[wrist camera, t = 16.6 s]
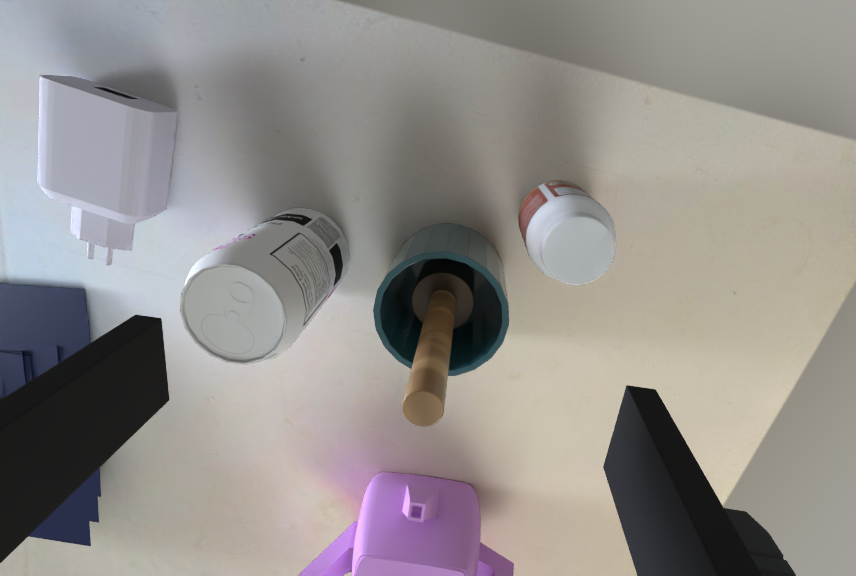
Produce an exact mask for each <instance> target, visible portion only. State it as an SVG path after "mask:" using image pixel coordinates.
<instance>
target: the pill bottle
mask: <svg viewBox="0 0 856 576" xmlns="http://www.w3.org/2000/svg"><path fill="white" fill-rule="evenodd" d="M519 228H520V231H521V234H522V237H523V240H524V243H525V246H526V249H527V251H528V255H529V256H530V258H531V260H532V261H533V263H534V264H535V266H536V267H537V268H538V269H539V270H540V271H542V272H543V273H545V274H546V275H548V276H550V277H552V278H555V279H557V280H558V281H560V282H563V283H566V284H571V285H582V284H586V283H590V282H592V281H594V280H596V279H598V278H599V277H601V276H602V275H603V274H604V273H605V272H606V271H607V270H608V268H609V267H610V265H611V263H612V261H613V258H614V254H615V238H616V234H615V226H614V223H613V220H612V218H611V216H610V215H609V213H608V212H607V210H606V209H605V208H604V207H603V206H602V205H601V204H600V203H598V202H597V201H596V200H594V199H593V198H592V197H591V196H590V195H588V194H587V193H586V192H585V191H584V190H582V189H581V188H580V187H578V186H577V185H575V184H573V183H570V182H567V181H561V180H555V181H549V182H545V183H543V184H541V185H539V186H537V187H536V188H534V189H533V190H532V191H531V192H530V193H529V194H528V195H527V196H526V198H525V199H524V201H523V203H522V205H521V207H520V211H519Z"/></svg>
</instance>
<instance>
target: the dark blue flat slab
mask: <svg viewBox="0 0 856 576" xmlns="http://www.w3.org/2000/svg"><path fill="white" fill-rule="evenodd" d="M89 344H90V333H89V321H88V319H87V311H86V302H85V294H84V289H73V288H58V287H43V286H29V285H14V284H0V397H2V396H3V397H6V396H8V395H9V394H11V393H12V392H14V391H15V390H17V389H19V388H20V387H22V386H23V385H25V384H27V383H28V382H30V381H31V380H33V379H35V378H36V377H38V376H39V375H41V374H42V373H44V372H46V371H47V370H49V369H50V368H52V367H54V366H55V365H57V364H58V363H60V362H62V361H63V360H65V359H66V358H68V357H69V356H71V355H73V354H74V353H76V352H77V351H79V350H81V349H82V348H84V347H85V346H87V345H89ZM97 496H99V497H101V488H100V467H99V468H98V469H97V470H96V471H95V472H94V473H93V474H92V475H91V476H90V477H89V478H88V479H87V480H86V481H85V482H84V483H83V484H82V485H81V486H80V487H79V488H78V489H77V490H76V491H75V492H74V493H72V494H71V495H70V496H69V497H68V498H67V499H66V500H65V501H64V502H63V503H62V504H61V505H60V506H59V507H58V508H57V509H56V510H55V511H54V512H53V513H52V514H51V515H50V516H49V517H48V518H47V519H46V520H45V521H43V522H42V523H41V524H40V525H39V526H38V527H37V528H36V529H35V530H34V531H33V532H32V533H31V534H30V535H29V536H30V537H36V538H42V539H49V540H55V541H61V542H68V543H74V544H80V545H87V546H91V542H90V526H89V521H93V522H99V516H98V497H97Z"/></svg>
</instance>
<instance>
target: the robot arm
mask: <svg viewBox="0 0 856 576" xmlns="http://www.w3.org/2000/svg"><path fill="white" fill-rule="evenodd" d="M168 401H169V392H168V382H167V372H166V361H165V351H164V341H163V331H162V321H161V318H155V317H148V316H141V315H135V316H133V317H131V318H130V319H128V320H127V321H125V322H123V323H122V324H120V325H119V326H117V327H115V328H114V329H112V330H111V331H109V332H108V333H106V334H104V335H103V336H101V337H100V338H98V339H96V340H95V341H93V342H92V343H90V344H89V345H87V346H85V347H84V348H82V349H81V350H79V351H77V352H76V353H74V354H73V355H71V356H69V357H68V358H66V359H65V360H63V361H62V362H60V363H58V364H57V365H55V366H54V367H52V368H50V369H49V370H47V371H46V372H44V373H42V374H41V375H39V376H38V377H36V378H35V379H33V380H31V381H30V382H28V383H27V384H25V385H23V386H22V387H20V388H19V389H17V390H15V391H14V392H12V393H11V394H9V395H8V396H6V397H3V396H2V397H0V563H1V562H2V561H3V560H4V559H5V558H6V557H7V556H8V555H9V554H10V553H11V552H12V551H13V550H14V549H16V548H17V547H18V546H19V545H20V544H21V543H22V542H23V541H24V540H25V539H26V538H27V537H28V536H29V535H30V534H31V533H32V532H33V531H34V530H35V529H36V528H37V527H38V526H39V525H40V524H41V523H42V522H43V521H45V520H46V519H47V518H48V517H49V516H50V515H51V514H52V513H53V512H54V511H55V510H56V509H57V508H58V507H59V506H60V505H61V504H62V503H63V502H64V501H65V500H66V499H67V498H68V497H69V496H70V495H71V494H72V493H74V492H75V491H76V490H77V489H78V488H79V487H80V486H81V485H82V484H83V483H84V482H85V481H86V480H87V479H88V478H89V477H90V476H91V475H92V474H93V473H94V472H95V471H96V470H97V469H98V468H99V467H100V466H101V465H102V464H104V463H105V462H106V461H107V460H108V459H109V458H110V457H111V456H112V455H113V454H114V453H115V452H116V451H117V450H118V449H119V448H120V447H121V446H122V445H123V444H124V443H125V442H126V441H127V440H128V439H129V438H130V437H131V436H133V435H134V434H135V433H136V432H137V431H138V430H139V429H140V428H141V427H142V426H143V425H144V424H145V423H146V422H147V421H148V420H149V419H150V418H151V417H152V416H153V415H154V414H155V413H156V412H157V411H158V410H159V409H160V408H162V407H163V406H164V405H165V404H166V403H167V402H168ZM603 467H604V471H605V474H606V477H607V480H608V483H609V486H610V490H611V493H612V496H613V499H614V502H615V506H616V509H617V512H618V515H619V518H620V521H621V525H622V528H623V531H624V534H625V537H626V540H627V544H628V547H629V550H630V553H631V556H632V560H633V563H634V566H635V569H636V572H637V575H638V576H796V575H795V573H794V571H793V570H792V568H791V567H790V565H789V564H788V562H787V561H786V560H784V559H783V554H782V553H781V551H780V550H779V548H778V547H777V545H776V544H775V542H774V540H773V539H772V537H771V536H770V534H769V533H768V532H767V531H766V530H765V529H764V528H763V527H762V526H761V525H760V524H759V523H758V522H757V521H755V520H754V519H753V518H752V517H751V516H750V515H749V514H748V513H747V512H745V511H739V510H733V509H725V508H723V506H722V504H721V503H720V501H719V499H718V498H717V496H716V494H715V492H714V491H713V489H712V487H711V485H710V484H709V482H708V480H707V478H706V477H705V475H704V473H703V471H702V470H701V468H700V466H699V464H698V463H697V461H696V459H695V457H694V456H693V454H692V452H691V450H690V449H689V447H688V445H687V444H686V442H685V440H684V438H683V437H682V435H681V433H680V431H679V430H678V428H677V426H676V424H675V423H674V421H673V419H672V417H671V416H670V414H669V412H668V410H667V409H666V407H665V405H664V403H663V402H662V400H661V398H660V396H659V395H658V393H657V391H656V390H655V389H648V388H641V387H634V386H626V390H625V393H624V396H623V400H622V403H621V407H620V410H619V414H618V417H617V421H616V424H615V428H614V431H613V435H612V438H611V442H610V445H609V449H608V452H607V456H606V459H605V463H604V466H603Z"/></svg>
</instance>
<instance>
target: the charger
mask: <svg viewBox="0 0 856 576" xmlns="http://www.w3.org/2000/svg"><path fill="white" fill-rule="evenodd" d="M177 117H178V111H177V110H175V109H173V108H170V107H168V106H165V105H162V104H159V103H156V102H153V101H150V100H147V99H144V98H141V97H138V96H135V95H132V94H129V93H126V92H123V91H120V90H117V89H114V88H111V87H108V86H105V85H102V84H99V83H96V82H92V81H89V80H85V79H82V78H77V77H72V76H54V75H40V92H39V139H38V185H39V186H40V187H41V189H42V190H43V191H44V192H45V193H46V194H47V195H48V197H49V198H51V199H53V200H55V201H58V202H61V203H64V204H68V205H71V206H72V215H71V233H72V234H74V235H75V236H76V237H78V238H79V239H81V240H84V241H87V242H88V251H87V258H88V259H93V258H94V244H96V245H99V246H102V247H105V248H106V260H105V264H106V265H111V264H112V253H113V249H119V250H132V245H133V235H134V224H135V223H137V222H140V221H143V220H145V219H148V218H151V217H154V216H156V215H157V214H159V213H161V212H163V211H164V210H166V209H167V201H168V193H169V184H170V176H171V167H172V159H173V151H174V142H175V134H176V125H177Z"/></svg>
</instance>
